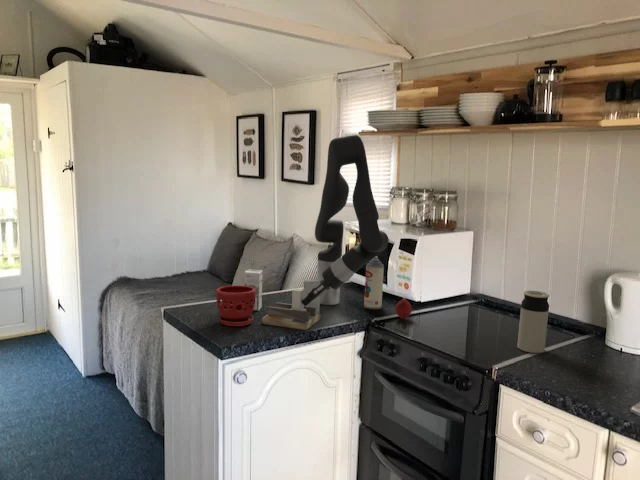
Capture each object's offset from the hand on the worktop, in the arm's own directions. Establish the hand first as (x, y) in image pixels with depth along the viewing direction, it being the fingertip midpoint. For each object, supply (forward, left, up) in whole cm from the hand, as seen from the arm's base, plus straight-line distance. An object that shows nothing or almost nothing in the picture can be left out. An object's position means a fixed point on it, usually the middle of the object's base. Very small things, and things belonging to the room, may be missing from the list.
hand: (303, 303), depth 185 cm
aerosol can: (-32, +17, -7) cm, 37 cm away
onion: (-21, +31, -7) cm, 38 cm away
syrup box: (-8, -23, -7) cm, 25 cm away
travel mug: (-7, +74, -7) cm, 75 cm away
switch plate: (0, -4, -7) cm, 8 cm away
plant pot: (+10, -21, -7) cm, 24 cm away
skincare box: (-14, -2, -7) cm, 16 cm away
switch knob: (0, -2, -5) cm, 5 cm away
